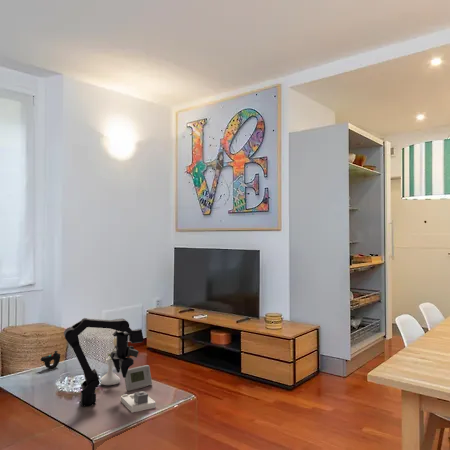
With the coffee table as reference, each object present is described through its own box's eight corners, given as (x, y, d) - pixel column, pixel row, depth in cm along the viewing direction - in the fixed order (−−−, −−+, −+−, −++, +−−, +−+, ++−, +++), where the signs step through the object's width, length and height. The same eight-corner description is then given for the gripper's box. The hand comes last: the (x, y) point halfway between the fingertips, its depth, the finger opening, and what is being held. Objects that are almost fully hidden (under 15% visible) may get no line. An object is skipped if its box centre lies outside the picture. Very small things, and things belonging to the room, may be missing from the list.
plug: (137, 409, 200) (138, 394, 200) (134, 406, 204) (134, 391, 204) (147, 407, 202) (148, 393, 203) (143, 404, 206) (144, 389, 207)
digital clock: (125, 392, 222) (126, 372, 223) (120, 387, 230) (121, 367, 230) (154, 387, 231) (155, 367, 231) (148, 382, 238) (149, 363, 239)
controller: (61, 366, 264) (61, 350, 264) (43, 371, 253) (43, 354, 254) (57, 365, 266) (57, 349, 266) (39, 370, 256) (39, 353, 256)
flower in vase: (109, 388, 227) (110, 342, 228) (94, 384, 233) (96, 339, 234) (126, 382, 238) (127, 337, 239) (112, 378, 244) (113, 335, 245)
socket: (131, 412, 196) (132, 405, 197) (120, 401, 210) (120, 394, 210) (155, 407, 203) (155, 401, 203) (143, 396, 216) (143, 390, 216)
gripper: (143, 346, 210) (143, 377, 210) (130, 338, 226) (129, 367, 226) (122, 349, 204) (121, 381, 204) (110, 341, 220) (109, 370, 219)
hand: (121, 375), depth 213 cm, fingers open, 9 cm apart
